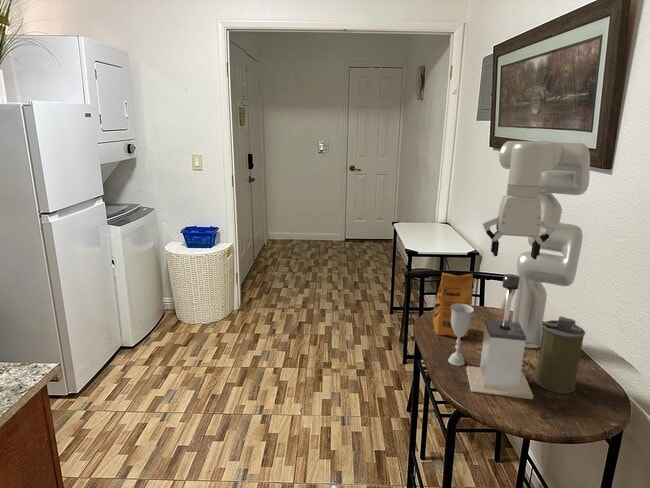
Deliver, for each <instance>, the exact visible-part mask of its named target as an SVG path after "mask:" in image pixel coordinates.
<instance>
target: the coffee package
mask: <svg viewBox="0 0 650 488" xmlns="http://www.w3.org/2000/svg"><path fill="white" fill-rule="evenodd" d="M473 276H474V275H473V273H470V274H463V275H455V274H450V273H447V272H446V273H445V272H442V273H441V280H440V283H439V287H438V289H437V290H438V291H437V293H436V299H435V304H434V308H433V314H432V315H433V316H432V317H433V318H432V323H433V327H434V328H433V331H434V333H435V334H436V335H437V336H450V337H453V338H457V336H456V335H455V334H454V331H453V328H452V325H451V314H452V310H451V305H452V304H457V303H459V304H466V305H469V306H471V307H472V302H473V283H474V277H473ZM469 333H470V328H469V329H468V330H467V332H466V333H465V335H464V336H463V337H468V336H469ZM463 337H462V338H463Z"/></svg>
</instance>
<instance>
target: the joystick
mask: <svg viewBox="0 0 650 488" xmlns="http://www.w3.org/2000/svg"><path fill="white" fill-rule="evenodd" d="M502 326H503V320H493V319H485V321H484V331H483V340H482V346H481V347H482V348H481V354H480V356H481V357H480V364H479V366H472V365H471V366H470V365H467V366H466V368H465V369H466V373H467V377H468V378H467V379H468V383H469V388H470V392H471V393H480V394H486V395H494V396H501V397H502V396H503V397H511V398H519V399H526V400H527V399H528V400H533V399H534V394H533V391H532V389H531V388H530V385H529V383H528V380H527V378H526V376H525V374H524V372H522V369H523V360H524V353H525V348H526V347H525V341H526V336H525V334H524V332H523V330H522V328H521V326H520V324H519V323H516V322H512V321H509V323H508V330H503V329H502Z"/></svg>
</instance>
